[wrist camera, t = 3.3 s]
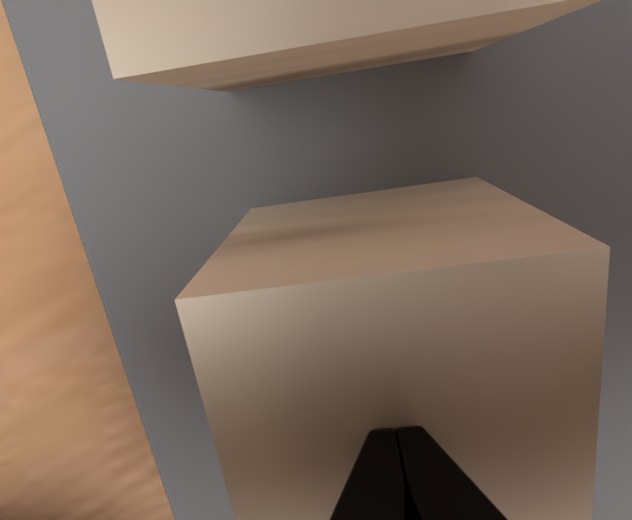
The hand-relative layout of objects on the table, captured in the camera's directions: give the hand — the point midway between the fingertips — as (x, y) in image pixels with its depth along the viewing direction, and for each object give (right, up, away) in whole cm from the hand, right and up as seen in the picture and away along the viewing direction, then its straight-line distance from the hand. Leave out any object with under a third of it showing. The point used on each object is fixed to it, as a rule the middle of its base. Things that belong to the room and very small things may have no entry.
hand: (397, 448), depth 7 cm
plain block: (0, +2, +6) cm, 6 cm away
